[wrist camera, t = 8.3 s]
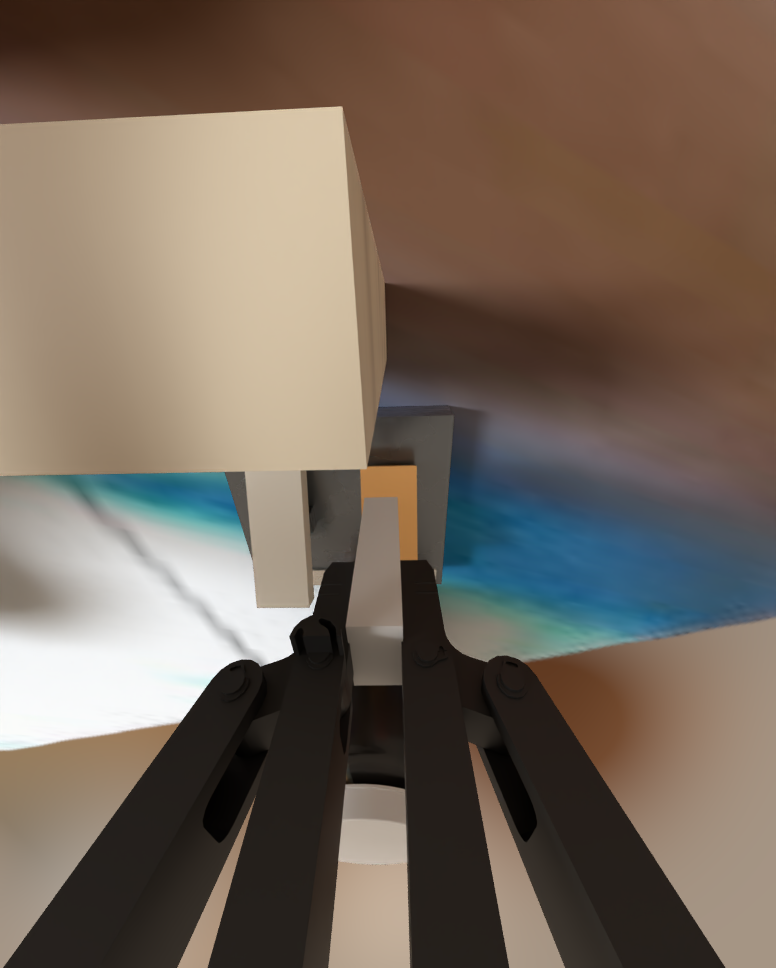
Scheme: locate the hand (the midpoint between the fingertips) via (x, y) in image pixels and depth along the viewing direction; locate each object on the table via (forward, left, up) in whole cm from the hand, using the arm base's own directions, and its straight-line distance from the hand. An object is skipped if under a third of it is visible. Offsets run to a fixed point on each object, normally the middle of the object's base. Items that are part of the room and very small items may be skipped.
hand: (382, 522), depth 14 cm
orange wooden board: (0, -4, -4) cm, 5 cm away
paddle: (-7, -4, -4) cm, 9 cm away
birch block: (-3, +8, -9) cm, 12 cm away
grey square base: (-3, -4, -9) cm, 10 cm away
